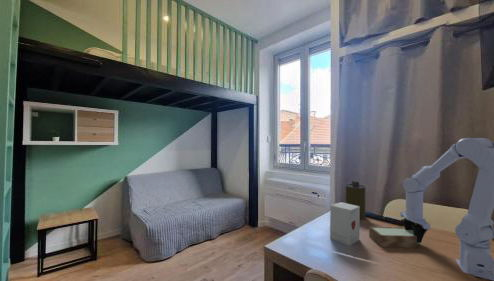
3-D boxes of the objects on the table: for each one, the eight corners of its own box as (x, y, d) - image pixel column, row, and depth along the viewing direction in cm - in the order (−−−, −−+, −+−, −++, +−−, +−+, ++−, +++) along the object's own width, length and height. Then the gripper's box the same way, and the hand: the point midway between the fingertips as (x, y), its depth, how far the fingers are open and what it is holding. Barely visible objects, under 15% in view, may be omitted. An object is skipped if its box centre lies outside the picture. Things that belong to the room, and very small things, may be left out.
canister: (368, 220, 118) (368, 183, 118) (347, 218, 120) (347, 182, 120) (361, 213, 128) (362, 179, 128) (343, 212, 130) (343, 179, 130)
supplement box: (350, 247, 87) (350, 210, 87) (329, 239, 94) (329, 205, 94) (360, 241, 93) (360, 206, 93) (339, 234, 100) (340, 201, 100)
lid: (381, 244, 88) (381, 234, 88) (372, 237, 95) (372, 227, 95) (422, 246, 87) (422, 235, 87) (410, 238, 94) (410, 228, 94)
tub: (380, 248, 87) (380, 235, 87) (369, 238, 96) (369, 226, 96) (416, 249, 86) (416, 236, 87) (401, 238, 95) (401, 227, 96)
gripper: (438, 213, 83) (438, 248, 83) (411, 202, 98) (411, 232, 98) (419, 212, 84) (419, 247, 84) (395, 202, 98) (395, 232, 98)
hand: (414, 239), depth 91 cm, fingers closed on lid, 4 cm apart
